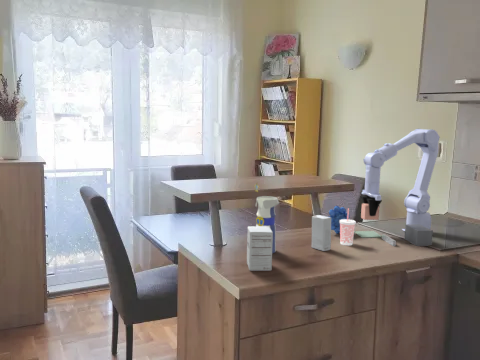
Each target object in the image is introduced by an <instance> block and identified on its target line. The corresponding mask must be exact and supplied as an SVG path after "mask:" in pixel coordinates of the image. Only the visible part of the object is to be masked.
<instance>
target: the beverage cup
mask: <svg viewBox="0 0 480 360" xmlns="http://www.w3.org/2000/svg"><path fill="white" fill-rule="evenodd" d="M349 212H350V208H349V207H348V208H347V212H346V213H347V219H342V220H339V221H340V222H339V223H340V233H339V238H340V239H339V241H340V242H339V244H340V245H342V246H352V245H353V244H354V243H353V241H354V235H355V232H354V231H355V227H356V224H357V222H356V220H354V219H350V218H349V219H348V217H349V215H350V214H349Z"/></svg>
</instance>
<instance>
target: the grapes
mask: <svg viewBox="0 0 480 360" xmlns="http://www.w3.org/2000/svg"><path fill="white" fill-rule="evenodd" d="M347 213H348V212H347V209H346V208H345V207H343V206H341V207H340V206H339V205H335V206H334V207H333V209H329V211H328V214H329V216H328V217H330V218H331V231H334V233H335V234H337V235H340V223H339V222H340V221H339V220H342V219H347ZM350 217H351V216H350V214H349V217H348V219H349V220H350Z"/></svg>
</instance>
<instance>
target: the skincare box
mask: <svg viewBox="0 0 480 360" xmlns="http://www.w3.org/2000/svg"><path fill="white" fill-rule="evenodd" d="M331 247H332V230H331V218H330V217H329V216H327V215H320V214H317V215H313V216H311V248H312V249H315V250H319V251H322V252H326V251H327V252H328V251H330V250H331Z"/></svg>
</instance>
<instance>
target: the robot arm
mask: <svg viewBox="0 0 480 360" xmlns="http://www.w3.org/2000/svg"><path fill="white" fill-rule="evenodd" d="M440 138H441V137H440V134H439V133H438V131H436V130H435V129H430V128H429V129H428V128H427V129H425V128H416V129H414V130H412V131H410V132H409V133H408V134H406V135H405V136H404V137H401V138H400V139H399V140H397V141H396V142H394V143H387V142H386V143H384V144H383V146H381V147H380V148H378V149H377V148H376V149H375V150H374V151H373V152H368V153H366V155H365V156H364V158H363V163H364V165H365V178H364V189H362V192H361V196H360V198H361V200H362V204H369V214H370V216H375V215H376V212H377V209H378V206H379V205H381V204H382V201H383V200H382V195H381V194H380V181H381V180H380V179H381V169H382V168H381V167H383V166H384V164H385V162H387V161H389V160H390V159H392V158H394V157H395V156H397V155H398V152H399V151H401V150H402V149H405V148H407V147H409V146H411V145H412V144H415V145H417V146H418V147H419V148H420V149H421V151H422V157H421V161H420V165H419V166H418V167H419V168H418V172H417V175H416V179H415V182H414V185H413V188H412V189H409V191H408V194H407V196H405V198H404V200H403V201H404V202H403V204H404V205H403V206H404V207H405V208H406V211H407V212H406V221H405V223H406V224H420V225H422V226H424V227H426V228H428V229H430V230H432V229H431V228H432V216H431V214H430V213H429V212H428V211H429V210H430V207H431V206H430V205H431V204H430V200H431V195H430V194H429V192H428V188H429V185H430V182H431V179H432V175H433V172H434V168H435V165H436V161H437V158H438V154H439V141H440ZM406 224H405V225H406ZM401 230H402V231H403V232H405V228H401Z"/></svg>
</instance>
